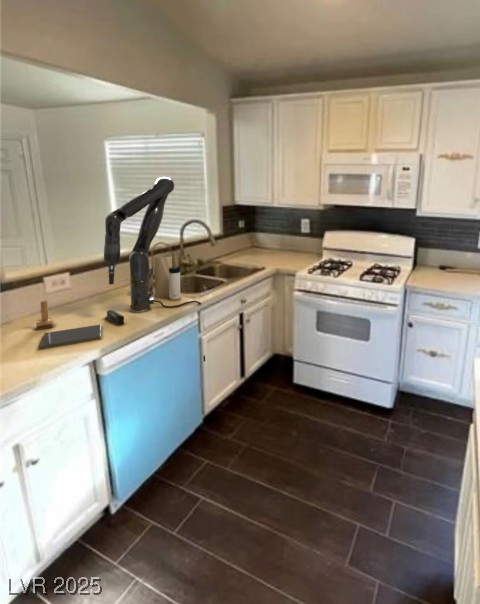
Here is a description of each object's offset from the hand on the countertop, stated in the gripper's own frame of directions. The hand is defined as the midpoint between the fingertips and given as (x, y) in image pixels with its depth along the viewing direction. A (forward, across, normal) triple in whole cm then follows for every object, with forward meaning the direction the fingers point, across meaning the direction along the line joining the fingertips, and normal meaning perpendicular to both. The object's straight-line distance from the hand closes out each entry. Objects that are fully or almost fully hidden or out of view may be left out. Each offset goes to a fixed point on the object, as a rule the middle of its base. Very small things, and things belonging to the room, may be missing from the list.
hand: (111, 282), depth 186 cm
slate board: (+18, -24, +15) cm, 34 cm away
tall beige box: (+16, +21, -29) cm, 39 cm away
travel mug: (+15, +11, -34) cm, 39 cm away
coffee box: (+16, +26, -19) cm, 36 cm away
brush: (+19, -6, +27) cm, 34 cm away
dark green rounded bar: (+18, -12, -2) cm, 21 cm away
